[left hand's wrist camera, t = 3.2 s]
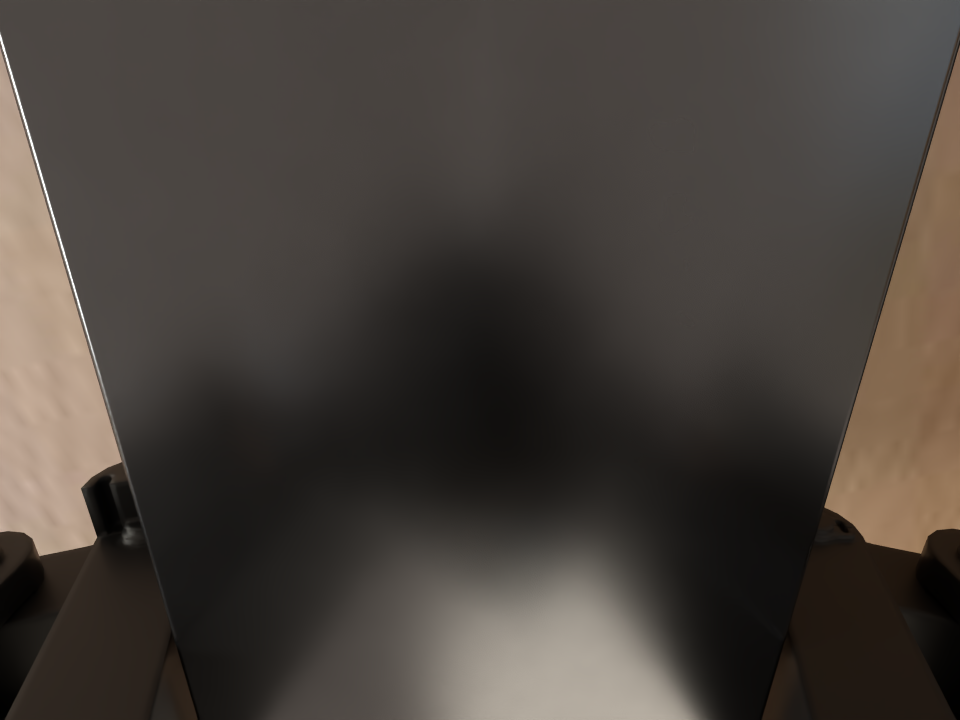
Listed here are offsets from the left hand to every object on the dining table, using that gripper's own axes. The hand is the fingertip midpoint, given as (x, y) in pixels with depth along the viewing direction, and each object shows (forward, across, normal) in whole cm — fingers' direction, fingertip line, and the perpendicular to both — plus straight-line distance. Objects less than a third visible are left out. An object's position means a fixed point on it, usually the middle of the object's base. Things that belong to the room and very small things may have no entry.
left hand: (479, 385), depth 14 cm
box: (+1, 0, -7) cm, 7 cm away
